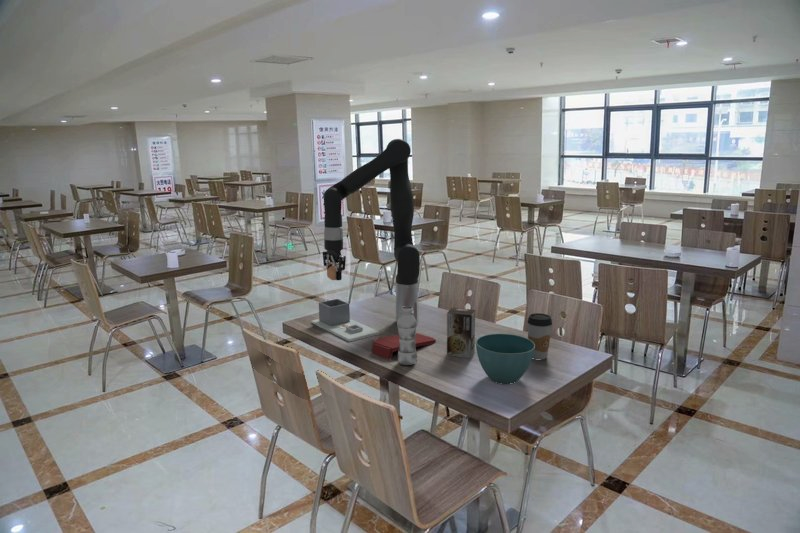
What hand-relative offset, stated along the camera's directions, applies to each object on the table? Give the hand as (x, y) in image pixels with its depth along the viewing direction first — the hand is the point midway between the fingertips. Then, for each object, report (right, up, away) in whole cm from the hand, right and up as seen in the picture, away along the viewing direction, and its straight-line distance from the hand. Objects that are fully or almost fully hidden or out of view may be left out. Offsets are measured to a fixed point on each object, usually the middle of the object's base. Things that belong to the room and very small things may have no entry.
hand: (334, 278), depth 225 cm
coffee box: (+48, -27, -28) cm, 62 cm away
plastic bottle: (+29, -29, -36) cm, 55 cm away
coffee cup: (+75, -27, -31) cm, 86 cm away
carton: (+28, -26, -20) cm, 43 cm away
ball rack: (+4, -20, 0) cm, 21 cm away
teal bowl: (+60, -31, -49) cm, 83 cm away
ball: (0, +2, -1) cm, 2 cm away
